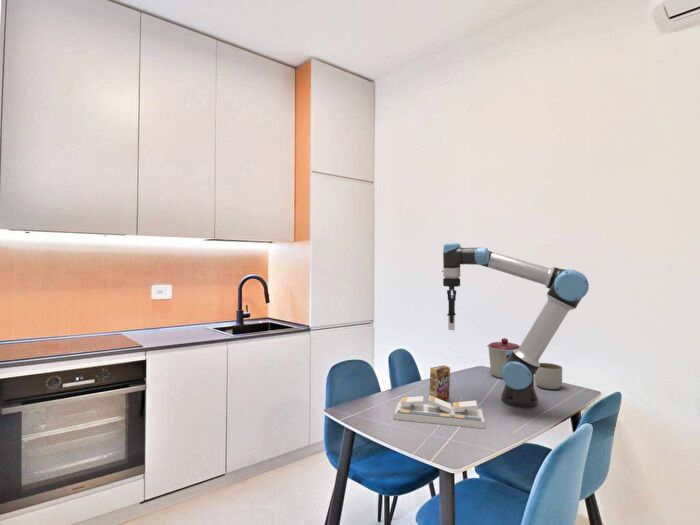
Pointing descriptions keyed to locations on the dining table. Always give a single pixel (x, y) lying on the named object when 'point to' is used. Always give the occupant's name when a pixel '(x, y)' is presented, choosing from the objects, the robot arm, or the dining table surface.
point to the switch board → (439, 416)
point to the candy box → (440, 382)
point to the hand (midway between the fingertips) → (451, 329)
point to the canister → (499, 355)
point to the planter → (549, 376)
